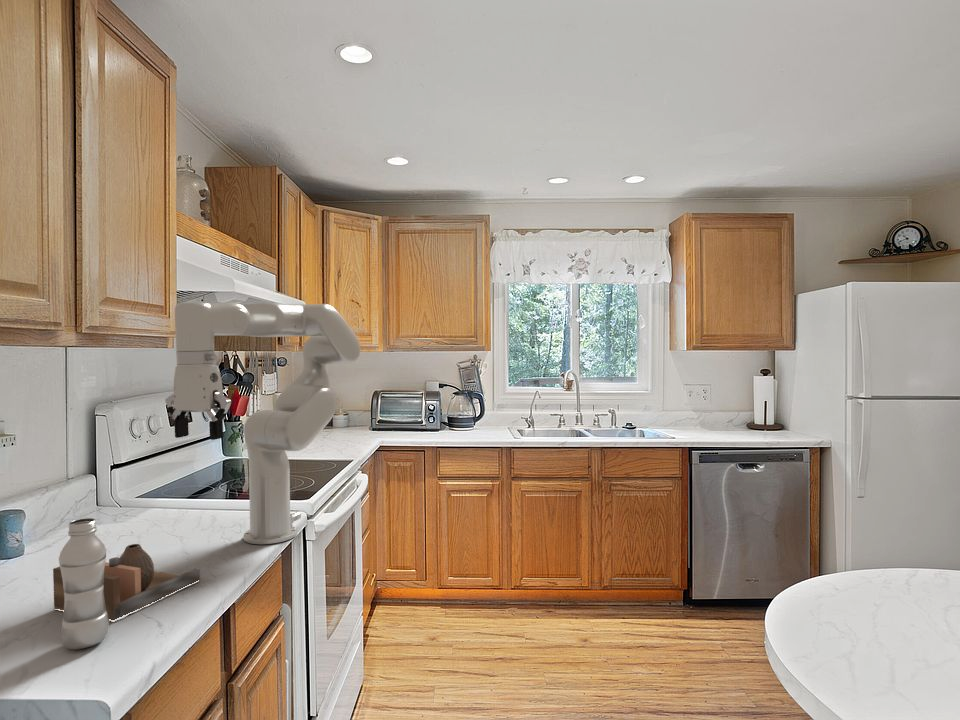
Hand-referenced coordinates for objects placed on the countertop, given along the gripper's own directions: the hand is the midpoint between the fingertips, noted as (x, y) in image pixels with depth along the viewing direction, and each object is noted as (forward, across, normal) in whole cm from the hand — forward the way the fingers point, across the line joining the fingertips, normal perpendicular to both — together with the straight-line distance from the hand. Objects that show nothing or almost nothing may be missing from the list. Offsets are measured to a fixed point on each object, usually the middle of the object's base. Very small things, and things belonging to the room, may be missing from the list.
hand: (199, 437), depth 131 cm
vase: (+27, 0, +17) cm, 32 cm away
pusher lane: (+27, 0, +18) cm, 33 cm away
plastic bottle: (+27, -10, +35) cm, 45 cm away
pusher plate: (+27, 0, +21) cm, 34 cm away
